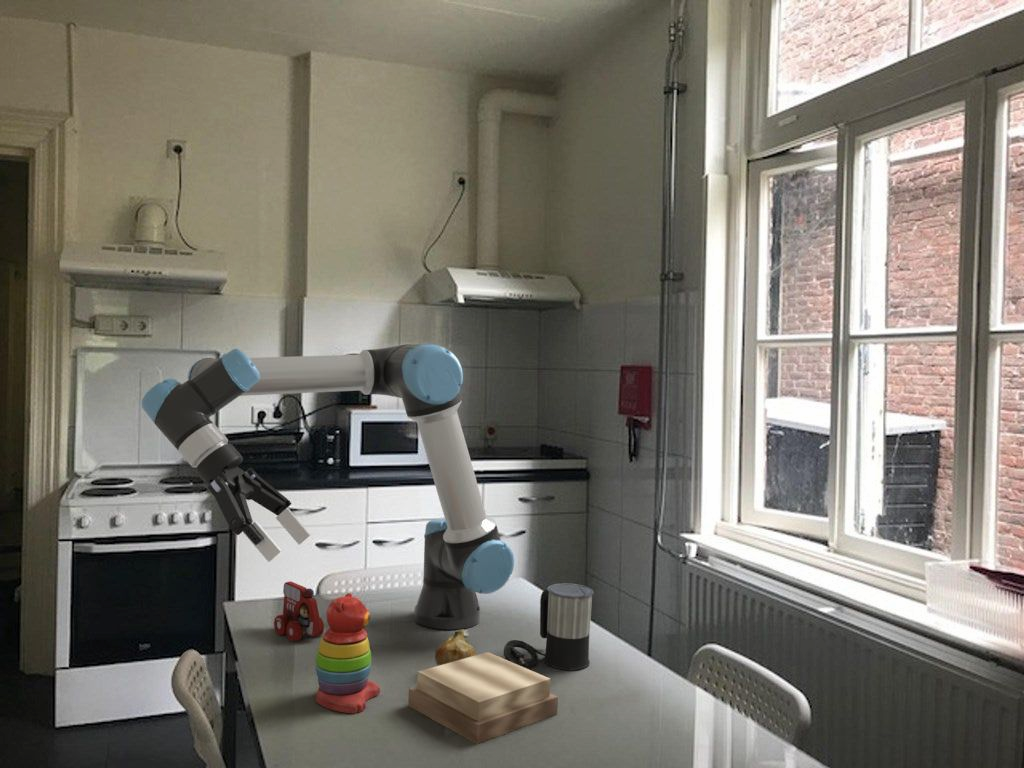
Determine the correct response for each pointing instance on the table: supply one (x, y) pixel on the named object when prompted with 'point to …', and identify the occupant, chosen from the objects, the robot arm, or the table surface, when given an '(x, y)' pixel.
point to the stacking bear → (345, 658)
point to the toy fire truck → (298, 613)
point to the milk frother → (560, 629)
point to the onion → (454, 648)
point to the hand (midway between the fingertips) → (291, 547)
